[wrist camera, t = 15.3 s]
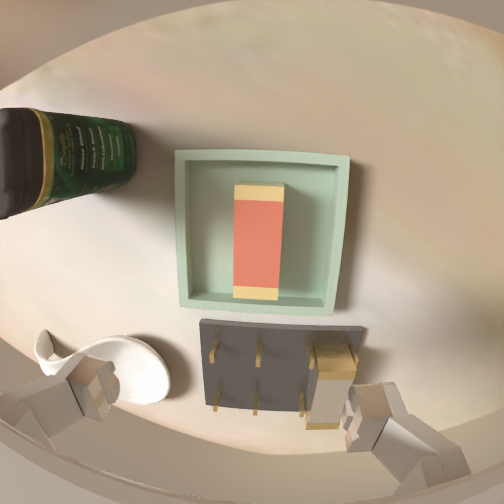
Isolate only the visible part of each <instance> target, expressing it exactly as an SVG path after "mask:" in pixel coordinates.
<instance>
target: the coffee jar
mask: <svg viewBox="0 0 504 504" xmlns="http://www.w3.org/2000/svg"><path fill="white" fill-rule="evenodd" d="M135 166H136V146H135V140H134V135H133V132H132V130H131V128H130V127H129V126H128V125H127V124H126V123H124V122H122V121H118V120H113V119H106V118H98V117H89V116H80V115H72V114H63V113H53V112H45V111H40V110H37V109H33V108H2V109H0V220H2V219H7V218H8V217H10V216H14V215H17V214H20V213H23V212H26V211H30V210H33V209H36V208H40V207H43V206H46V205H50V204H54V203H58V202H61V201H64V200H68V199H72V198H75V197H79V196H83V195H87V194H92V193H97V192H101V191H105V190H109V189H113V188H116V187H119V186H122V185H124V184H125V183H127V182H128V181H129V180H130V178H131V177H132V175H133V173H134V170H135Z"/></svg>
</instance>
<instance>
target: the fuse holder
mask: <svg viewBox="0 0 504 504" xmlns="http://www.w3.org/2000/svg"><path fill="white" fill-rule="evenodd" d="M199 326H200V341H201V355H202V367H203V379H204V390H205V400H206V405H211V406H213V411H215V412H217V410H218V406H219V407H229V408H239V409H252V410H253V415H257V411H258V410H268V411H296V412H299V417H303V416H304V412H305V425H306V430H321V429H338V427H339V425H340V420H341V417H342V413H343V407H344V404H345V402H346V401H347V400H348V391H349V388H350V386H351V385H352V384H353V380H354V379H355V376H356V372H357V370H356V369H357V366H358V363H359V359H358V357H357V352H358V348H359V345H360V340H361V336H362V332H363V330H362V328H361V326H313V325H286V324H266V323H250V322H236V321H223V320H211V319H201V320H200V322H199Z"/></svg>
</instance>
